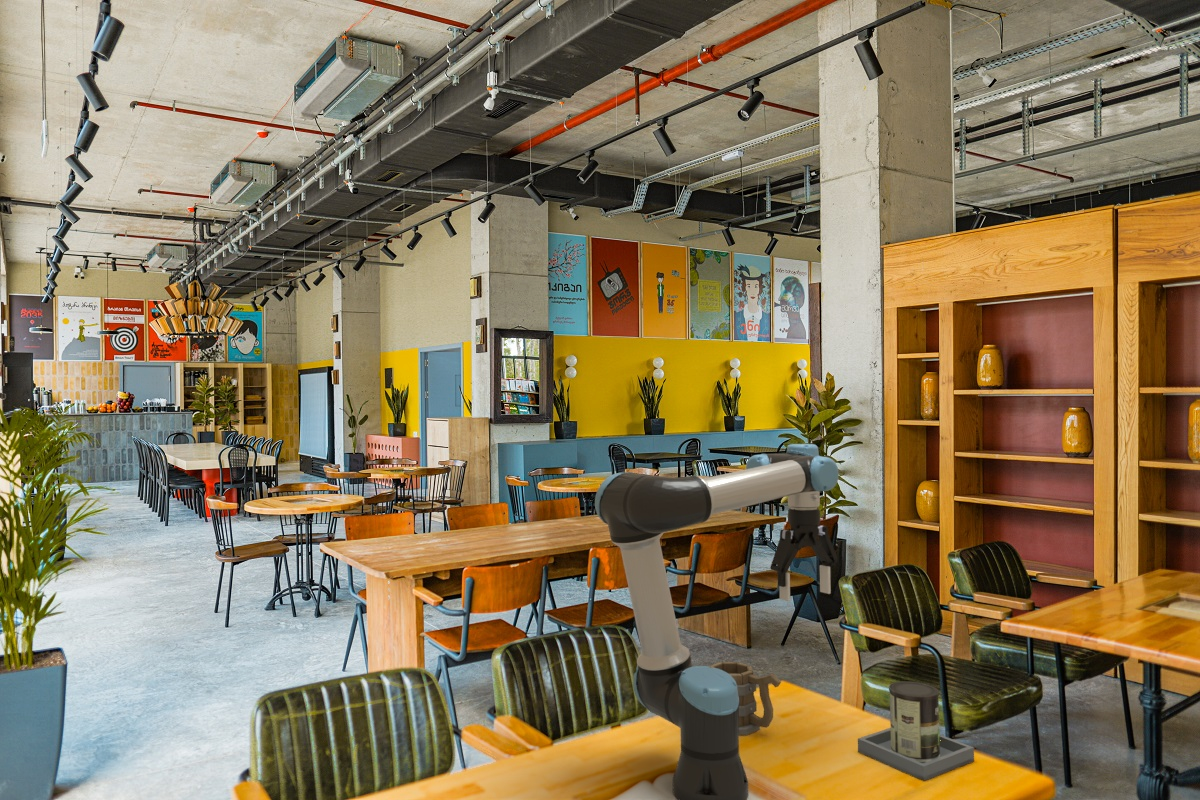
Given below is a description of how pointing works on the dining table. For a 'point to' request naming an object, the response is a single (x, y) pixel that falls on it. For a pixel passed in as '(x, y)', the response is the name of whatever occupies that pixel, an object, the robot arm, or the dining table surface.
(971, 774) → the dining table surface
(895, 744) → the coffee can
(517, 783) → the dining table surface
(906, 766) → the tray
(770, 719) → the tankard
